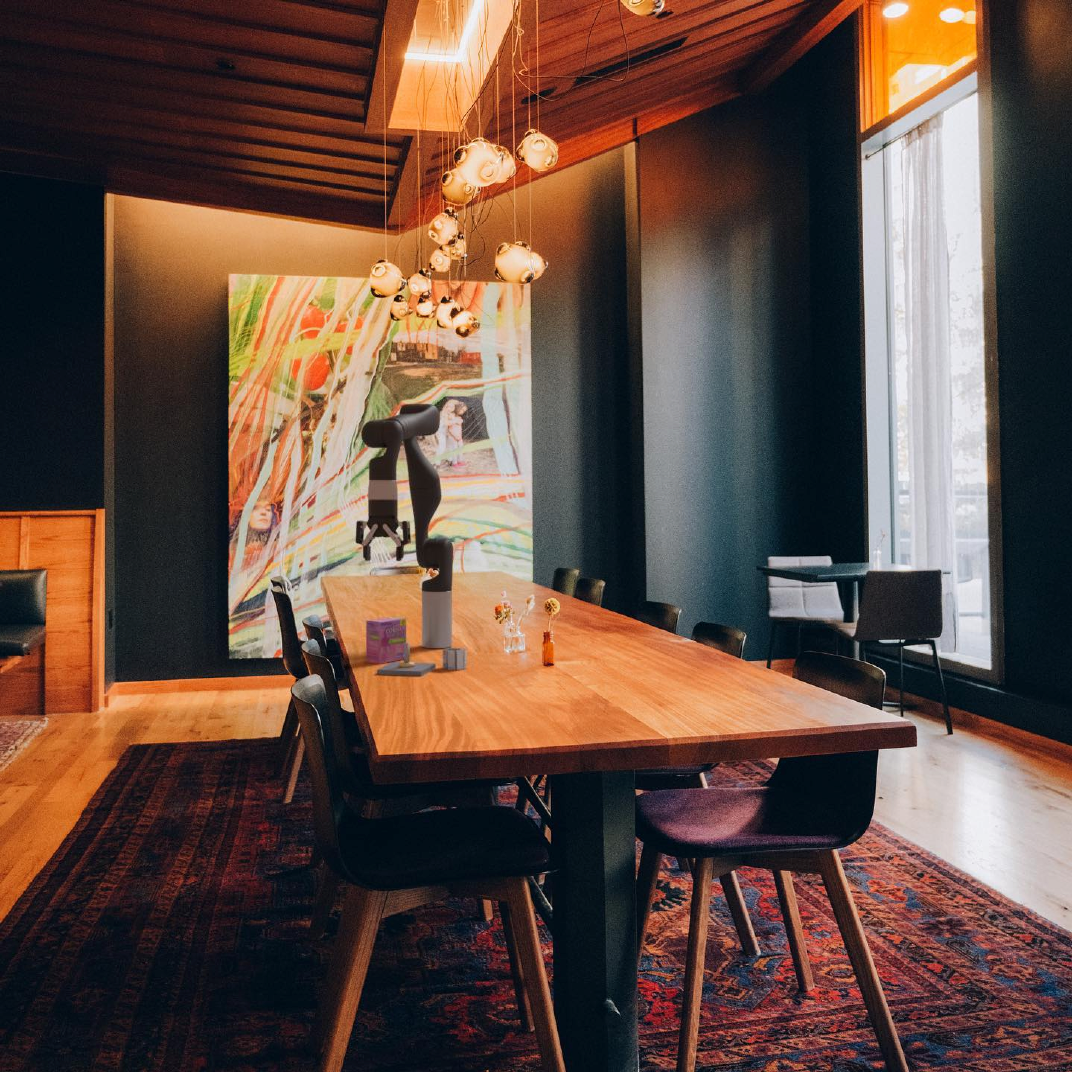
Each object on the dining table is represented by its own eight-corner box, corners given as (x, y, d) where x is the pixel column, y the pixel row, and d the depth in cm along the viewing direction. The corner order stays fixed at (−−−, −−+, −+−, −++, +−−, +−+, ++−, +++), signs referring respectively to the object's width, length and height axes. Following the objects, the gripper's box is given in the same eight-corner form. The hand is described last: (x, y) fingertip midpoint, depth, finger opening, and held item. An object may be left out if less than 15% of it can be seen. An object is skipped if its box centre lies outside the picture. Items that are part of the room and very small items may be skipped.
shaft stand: (393, 666, 251) (393, 639, 251) (435, 667, 249) (435, 640, 249) (376, 674, 240) (376, 645, 239) (421, 676, 237) (421, 647, 237)
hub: (447, 665, 253) (447, 647, 252) (468, 666, 251) (468, 648, 251) (440, 669, 247) (440, 650, 246) (462, 670, 245) (462, 651, 245)
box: (380, 664, 254) (379, 621, 254) (365, 662, 258) (365, 620, 257) (407, 659, 263) (406, 617, 262) (393, 657, 266) (392, 616, 266)
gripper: (414, 498, 242) (414, 560, 243) (362, 498, 245) (363, 559, 246) (404, 498, 235) (404, 562, 235) (351, 498, 238) (351, 561, 238)
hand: (383, 560), depth 240 cm, fingers open, 8 cm apart
